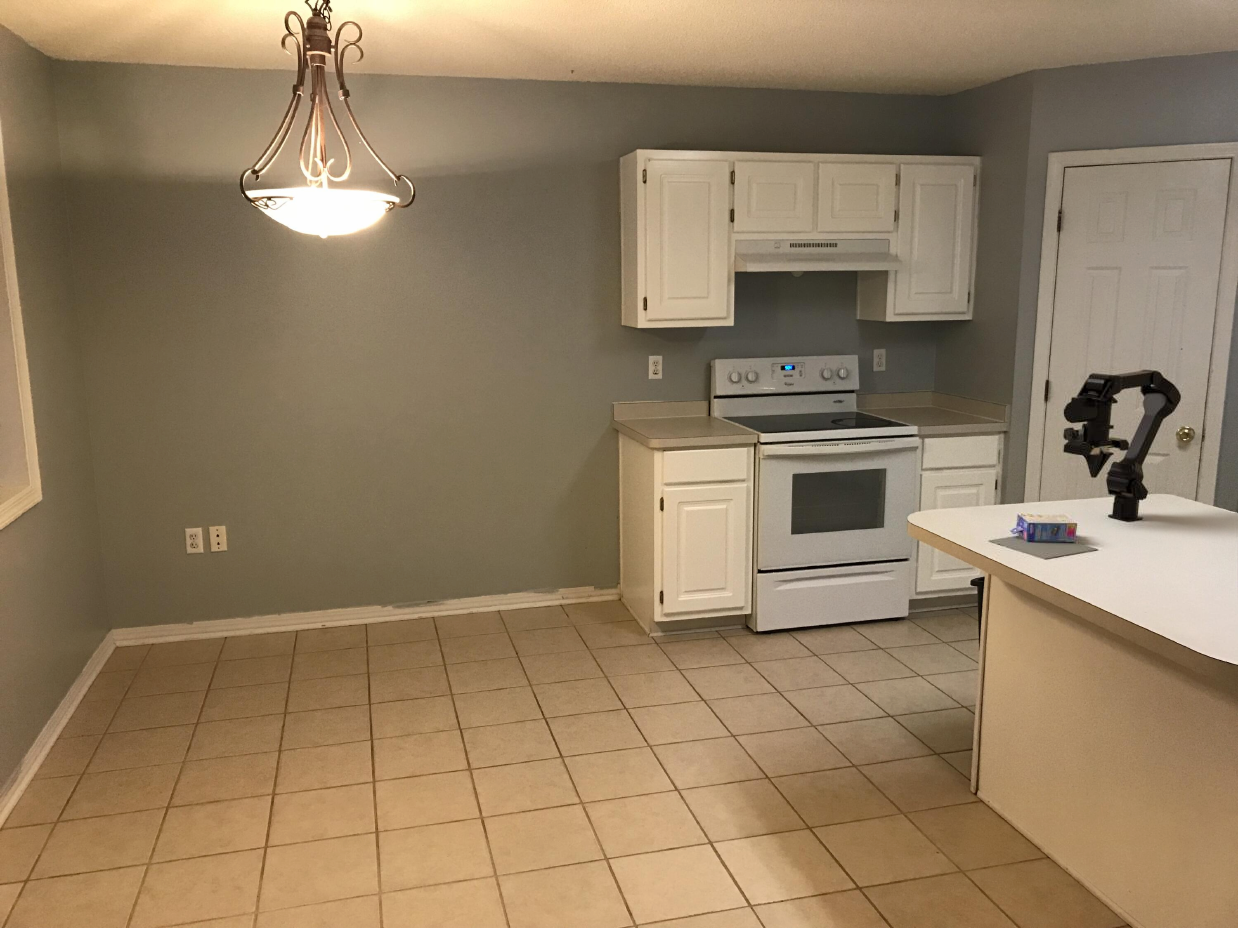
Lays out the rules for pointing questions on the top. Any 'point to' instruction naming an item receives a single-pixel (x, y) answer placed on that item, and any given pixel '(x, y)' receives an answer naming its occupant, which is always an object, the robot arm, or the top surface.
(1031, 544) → the mat
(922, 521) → the top surface
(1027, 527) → the ink cartridge box
